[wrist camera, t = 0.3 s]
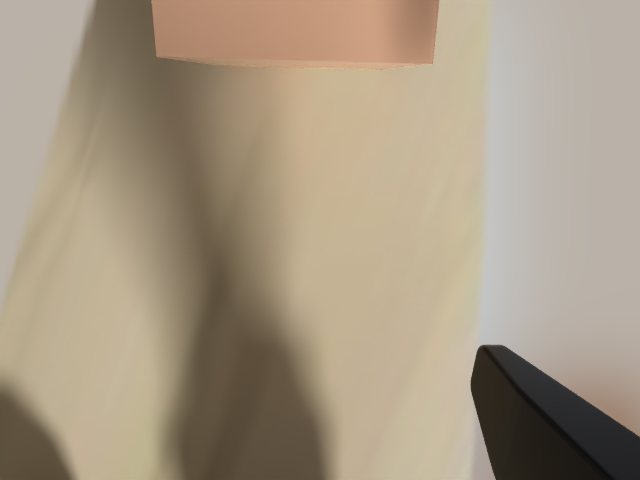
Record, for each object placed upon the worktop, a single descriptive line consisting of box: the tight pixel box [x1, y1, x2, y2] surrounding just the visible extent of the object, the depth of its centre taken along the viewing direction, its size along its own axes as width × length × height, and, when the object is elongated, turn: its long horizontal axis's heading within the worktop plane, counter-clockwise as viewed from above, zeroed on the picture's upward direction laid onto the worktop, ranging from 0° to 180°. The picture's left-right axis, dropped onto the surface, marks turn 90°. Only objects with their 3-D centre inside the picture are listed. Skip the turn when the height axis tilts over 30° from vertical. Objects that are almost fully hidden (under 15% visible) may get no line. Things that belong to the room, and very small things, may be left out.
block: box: [151, 0, 439, 70], centre depth 16 cm, size 2×7×9 cm, turn 88°
